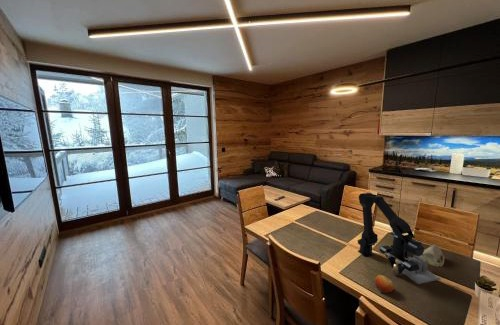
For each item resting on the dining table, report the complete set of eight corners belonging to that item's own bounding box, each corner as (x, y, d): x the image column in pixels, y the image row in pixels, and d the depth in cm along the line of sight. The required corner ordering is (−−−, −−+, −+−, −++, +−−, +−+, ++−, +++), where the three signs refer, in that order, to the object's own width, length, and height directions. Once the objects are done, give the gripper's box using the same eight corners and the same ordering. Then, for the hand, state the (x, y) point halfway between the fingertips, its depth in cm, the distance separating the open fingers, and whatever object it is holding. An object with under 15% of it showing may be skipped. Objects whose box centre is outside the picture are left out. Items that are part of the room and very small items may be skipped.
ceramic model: (439, 269, 117) (441, 253, 116) (415, 259, 127) (417, 244, 125) (448, 260, 125) (450, 245, 123) (425, 251, 134) (426, 237, 132)
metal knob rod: (396, 275, 111) (397, 267, 110) (390, 271, 115) (391, 262, 114) (423, 270, 115) (424, 261, 114) (417, 266, 118) (418, 258, 117)
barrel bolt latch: (418, 284, 107) (419, 271, 105) (390, 264, 122) (392, 253, 121) (439, 279, 110) (441, 266, 108) (410, 261, 125) (411, 249, 124)
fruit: (367, 282, 107) (376, 269, 106) (379, 288, 108) (387, 276, 107) (378, 294, 99) (387, 281, 98) (391, 301, 100) (400, 287, 99)
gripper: (429, 252, 103) (426, 280, 106) (395, 234, 121) (393, 259, 124) (411, 256, 101) (408, 285, 103) (379, 237, 119) (377, 262, 121)
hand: (396, 271), depth 113 cm, fingers closed on metal knob rod, 4 cm apart
